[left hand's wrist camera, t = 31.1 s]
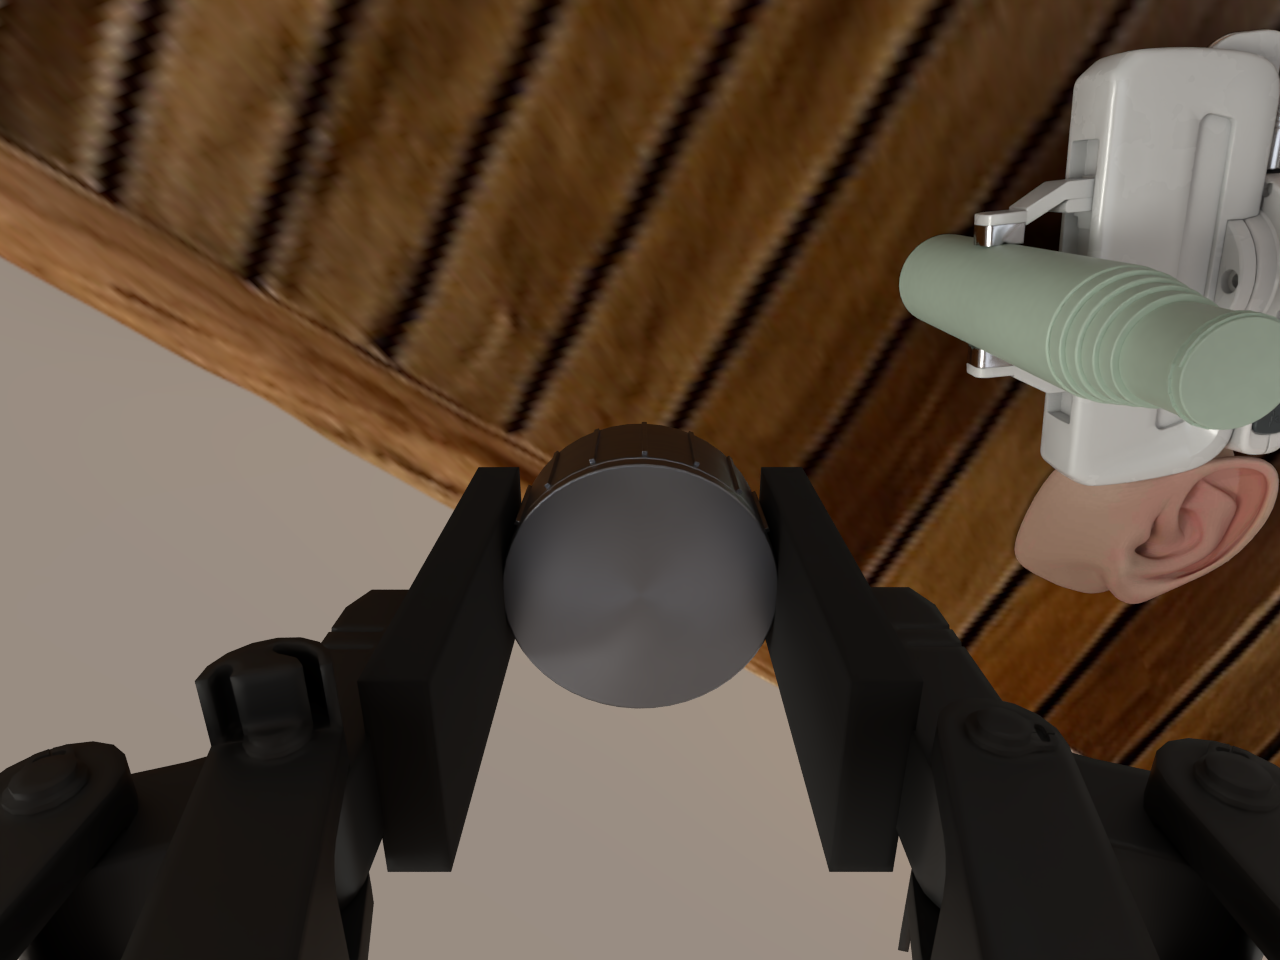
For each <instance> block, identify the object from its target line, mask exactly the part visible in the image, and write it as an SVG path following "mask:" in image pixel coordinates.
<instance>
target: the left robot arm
mask: <svg viewBox="0 0 1280 960" xmlns="http://www.w3.org/2000/svg"><path fill="white" fill-rule="evenodd" d="M759 503H760V505H761V508H762V511H763V513H764V516H765V519H766V521H767V524H768V527H769V529H770V532H767V534H768V537H769V539H770V542H771V545H772V548H773V551H774V554H775V558H776V562H777V566H778V581H777V595H776V608H775V617H774V620H773V623H772V626H771V629H770V631H769V633H768V635H767V637H766V643H767V646H768V650H769V653H770V657H771V661H772V664H773V668H774V672H775V675H776V679H777V683H778V686H779V690H780V694H781V697H782V701H783V704H784V708H785V712H786V715H787V719H788V723H789V726H790V730H791V733H792V737H793V741H794V745H795V748H796V752H797V755H798V759H799V763H800V766H801V770H802V774H803V777H804V781H805V785H806V788H807V792H808V795H809V799H810V803H811V806H812V810H813V814H814V817H815V821H816V825H817V828H818V832H819V836H820V839H821V843H822V847H823V850H824V854H825V857H826V861H827V865H828V868H829V871H830V872H893V867H894V861H895V855H896V849H897V842H898V836H899V837H900V840H901V842H902V845H903V847H904V850H905V852H906V855H907V857H908V860H909V863H910V865H911V868H912V870H911V876H910V882H909V887H908V893H907V899H906V905H905V910H904V916H903V922H902V928H901V933H900V940H899V947H898V950H901V951H906V952H908V950H909V945H910V941H911V950H912V960H1262V958H1263V955H1264V956H1265V957H1266V958H1267V959H1268V960H1280V768H1279V767H1277V766H1276V765H1274V764H1272V763H1270V762H1268V761H1266V760H1264V759H1262V758H1260V757H1258V756H1256V755H1254V754H1252V753H1250V752H1248V751H1246V750H1243V749H1241V748H1238V747H1235V746H1229V745H1228V744H1224V743H1220V742H1216V741H1209V740H1200V739H1192V738H1186V739H1180V740H1174V741H1168V742H1167V743H1166V744H1165V745H1163V746H1162V747H1161V748H1160V749H1159V750H1157V752H1156V755H1155V758H1154V762H1153V765H1152V768H1151V771H1148V770H1144V769H1139V768H1134V767H1129V766H1125V765H1120V764H1115V763H1111V762H1106V761H1101V760H1097V759H1092V758H1089V757H1085V756H1082V755H1078V754H1075V753H1072V752H1071V749H1070V747H1069V745H1068V744H1067V742H1066V741H1065V739H1064V738H1063V737H1062V735H1061V734H1060V732H1059V731H1058V730H1057V729H1056V728H1055V727H1054V726H1052V725H1051V724H1050V723H1048V722H1047V721H1046V720H1044V719H1043V718H1042V717H1040V716H1039V715H1038V714H1035V713H1033V712H1031V711H1029V710H1027V709H1025V708H1022V707H1020V706H1018V705H1016V704H1013V703H1008V702H1004V701H1002V700H1001V699H1000V697H999V696H998V694H997V693H996V691H995V690H994V689H993V687H992V686H991V684H990V683H989V681H988V680H987V679H986V677H985V676H984V674H983V673H982V671H981V670H980V669H979V667H978V666H977V664H976V663H975V661H974V660H973V659H972V657H971V656H970V654H969V653H968V651H967V650H966V649H965V647H962V646H961V641H960V640H959V639H958V637H957V636H956V634H955V633H954V631H953V630H952V629H949V624H948V623H947V621H946V620H945V619H944V617H943V616H942V614H941V613H940V611H939V610H938V609H937V607H936V606H935V605H934V604H933V603H931V602H930V601H928V600H927V599H926V598H924V597H923V596H921V595H920V594H918V593H917V592H915V591H914V590H912V589H911V588H909V587H870V586H869V584H868V583H867V581H866V579H865V577H864V576H863V574H862V572H861V570H860V569H859V567H858V565H857V563H856V562H855V560H854V558H853V556H852V555H851V553H850V551H849V549H848V548H847V546H846V544H845V542H844V541H843V539H842V537H841V535H840V533H839V532H838V530H837V528H836V526H835V525H834V523H833V521H832V519H831V518H830V516H829V514H828V512H827V511H826V509H825V507H824V505H823V504H822V502H821V500H820V498H819V497H818V495H817V493H816V491H815V490H814V488H813V486H812V484H811V483H810V481H809V479H808V477H807V475H806V474H805V472H804V470H803V468H802V467H761V481H760V497H759ZM520 506H521V489H520V473H519V467H479V468H478V469H477V471H476V473H475V475H474V476H473V478H472V480H471V482H470V483H469V485H468V487H467V489H466V490H465V492H464V494H463V496H462V497H461V499H460V501H459V503H458V504H457V506H456V508H455V510H454V512H453V513H452V515H451V517H450V519H449V520H448V522H447V524H446V526H445V527H444V529H443V531H442V533H441V534H440V536H439V538H438V540H437V541H436V543H435V545H434V547H433V549H432V550H431V552H430V554H429V555H428V557H427V559H426V561H425V563H424V564H423V566H422V568H421V570H420V571H419V573H418V575H417V577H416V578H415V580H414V582H413V584H412V585H411V587H410V589H409V590H371V591H369V592H368V593H366V594H365V595H363V596H362V597H360V598H359V599H357V600H356V601H355V602H353V603H352V604H350V605H349V606H347V607H346V608H345V609H344V611H343V612H342V614H341V615H340V617H339V618H338V620H337V621H336V622H335V624H334V625H333V627H332V632H329V633H328V634H327V635H326V637H325V638H324V640H323V641H322V643H320V642H318V641H313V640H309V639H305V638H301V637H297V638H275V639H270V640H265V641H260V642H255V643H251V644H249V645H246V646H244V647H241V648H239V649H236V650H234V651H231V652H229V653H227V654H225V655H224V656H222V657H221V658H219V659H218V660H216V661H215V662H213V663H212V664H210V665H209V666H207V667H206V668H205V670H204V671H203V672H202V673H201V674H200V676H199V677H198V678H197V679H196V680H195V684H196V688H197V692H198V695H199V699H200V703H201V707H202V711H203V715H204V719H205V723H206V727H207V731H208V735H209V739H210V743H211V748H210V751H209V753H208V755H207V757H204V758H200V759H196V760H193V761H189V762H185V763H180V764H176V765H171V766H166V767H162V768H157V769H152V770H148V771H143V772H138V773H134V774H131V773H130V769H129V766H128V763H127V760H126V756H125V754H124V753H123V752H122V751H120V750H119V749H118V748H117V747H116V746H114V745H112V744H105V743H100V742H94V741H92V742H84V743H75V744H66V745H63V746H59V747H55V748H53V749H50V750H49V749H48V750H45V751H42V752H39V753H37V754H34V755H32V756H31V757H29V758H27V759H25V760H23V761H21V762H18V763H16V764H14V765H12V766H10V767H8V768H6V769H5V770H4V771H2V772H1V773H0V960H17V959H18V958H19V960H368V952H369V942H370V933H371V924H372V914H373V904H374V901H373V895H372V888H371V882H370V876H369V870H370V868H371V865H372V863H373V860H374V857H375V855H376V852H377V850H378V847H379V845H380V842H381V840H382V839H383V845H384V851H385V858H386V864H387V870H388V872H451V870H452V867H453V863H454V859H455V856H456V852H457V848H458V845H459V841H460V837H461V834H462V830H463V826H464V823H465V819H466V816H467V812H468V808H469V804H470V801H471V797H472V794H473V790H474V786H475V782H476V779H477V775H478V772H479V768H480V765H481V761H482V757H483V754H484V750H485V746H486V742H487V739H488V735H489V732H490V728H491V724H492V721H493V717H494V713H495V710H496V706H497V703H498V699H499V695H500V692H501V688H502V684H503V681H504V677H505V673H506V670H507V666H508V662H509V659H510V655H511V651H512V648H513V644H514V640H515V637H514V636H513V633H512V631H511V629H510V626H509V624H508V622H507V618H506V614H505V602H504V589H503V566H504V561H505V557H506V554H507V551H508V548H509V545H510V542H511V539H512V537H513V534H514V531H515V528H516V525H514V522H515V520H516V517H517V514H518V511H519V509H520Z"/></svg>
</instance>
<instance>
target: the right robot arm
mask: <svg viewBox="0 0 1280 960" xmlns="http://www.w3.org/2000/svg"><path fill="white" fill-rule="evenodd" d="M1046 212H1062V222H1061V232H1060V244H1059V252H1064V253H1070V254H1076V255H1082V256H1088V257H1094V258H1100V259H1106V260H1112V261H1118V262H1124V263H1130V264H1137V265H1142V266H1146V267H1150V268H1152V269H1155V270H1157V271H1161V272H1163V273H1166V274H1169V275H1170V276H1172V277H1174V278H1176V279H1177V280H1178V281H1180V282H1182V283H1183V284H1185V285H1187V286H1188V287H1189V288H1191V289H1193V290H1195V291H1197V292H1199V293H1200V294H1201V295H1203V296H1204V297H1206V298H1208V299H1210V300H1212V301H1213V302H1214V303H1215V304H1217V305H1218V306H1219V307H1221V308H1225V309H1230V310H1251V311H1255V312H1261V313H1264V314H1267V315H1271V316H1274V317H1276V318H1277V319H1279V320H1280V32H1279V31H1275V30H1272V29H1265V28H1264V29H1255V30H1247V31H1238V32H1232V33H1228V34H1225V35H1223V36H1221V37H1219V38H1217V39H1216V40H1214V41H1213V42H1212V43H1210V44H1209V45H1208V46H1207V47H1206V48H1201V47H1168V48H1150V49H1141V50H1134V51H1128V52H1123V53H1119V54H1114V55H1111V56H1108V57H1105V58H1102V59H1100V60H1098V61H1096V62H1095V63H1094V64H1093V65H1092V66H1091V67H1089V68H1088V69H1087V70H1086V71H1085V72H1084V73H1083V74H1082V75H1081V76H1080V77H1079V78H1078V79H1077V81H1076V82H1075V85H1074V91H1073V101H1072V112H1071V123H1070V134H1069V145H1068V156H1067V167H1066V178H1065V179H1064V180H1055V181H1047V182H1044V183H1042V184H1041V185H1040V186H1038V187H1037V188H1035V189H1034V190H1032V191H1031V192H1030V193H1028V194H1027V195H1025V196H1024V197H1023V198H1021V199H1020V200H1018V201H1017V202H1016V203H1014V204H1013V205H1011V206H1010V207H1009V210H1000V211H991V212H982V213H977V214H975V223H974V244H973V245H976V246H977V245H980V246H981V247H993V246H999V245H1001V244H1003V243H1004V244H1021V243H1023V242H1024V233H1025V225H1028V224H1029V223H1031V222H1032V221H1034V220H1035V219H1037V218H1038V217H1040V216H1041V215H1043V214H1045V213H1046ZM967 373H969V374H971V375H973V376H974V377H979V378H991V377H1001V376H1012V377H1014V378H1016V379H1018V380H1020V381H1022V382H1025V383H1027V384H1029V385H1031V386H1033V387H1035V388H1037V389H1039V390H1042V391H1044V392H1046V396H1045V407H1044V418H1043V429H1042V440H1041V456H1042V457H1043V459H1044V460H1045V461H1046V462H1048V463H1049V464H1050V465H1051V466H1052V467H1053V468H1055V469H1056V470H1057V471H1058V472H1060V473H1061V474H1062V475H1064V476H1066V477H1067V478H1069V479H1071V480H1072V481H1074V482H1077V483H1079V484H1082V485H1087V486H1103V485H1113V484H1121V483H1129V482H1136V481H1142V480H1148V479H1153V478H1158V477H1163V476H1168V475H1173V474H1177V473H1182V472H1185V471H1189V470H1192V469H1195V468H1197V467H1200V466H1202V465H1204V464H1206V463H1207V462H1209V461H1211V460H1212V459H1213V458H1215V457H1216V456H1217V455H1218V454H1219V453H1220V452H1221V451H1222V450H1223V449H1224V448H1227V449H1230V450H1234V451H1238V452H1241V453H1245V454H1250V455H1258V454H1267V453H1271V452H1274V451H1276V450H1278V449H1279V448H1280V403H1279V404H1278V405H1277V406H1276V407H1275V408H1274V409H1273V410H1272V411H1271V412H1269V413H1268V414H1267V415H1265V416H1264V417H1262V418H1261V419H1259V420H1257V421H1255V422H1253V423H1251V424H1249V425H1246V426H1243V427H1240V428H1235V429H1228V430H1207V429H1203V428H1200V427H1196V426H1193V425H1190V424H1189V423H1187V422H1186V421H1184V420H1183V419H1181V418H1180V417H1178V415H1176V414H1173V413H1171V412H1169V411H1167V410H1164V409H1162V408H1159V409H1151V408H1144V407H1131V406H1126V405H1115V404H1103V403H1098V402H1094V401H1091V400H1088V399H1083V398H1080V397H1077V396H1075V395H1073V394H1071V393H1069V392H1067V391H1065V390H1063V389H1060V388H1058V387H1056V386H1054V385H1052V384H1050V383H1048V382H1046V381H1044V380H1042V379H1040V378H1038V377H1036V376H1034V375H1032V374H1030V373H1028V372H1026V371H1024V370H1022V369H1020V368H1018V367H1016V366H1014V365H1012V364H1010V363H1008V362H1006V361H1004V360H1001V359H999V358H997V357H995V356H993V355H991V354H989V353H987V352H985V351H983V350H981V349H979V348H977V347H975V346H973V345H971V344H969V348H968V361H967Z"/></svg>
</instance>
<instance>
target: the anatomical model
mask: <svg viewBox="0 0 1280 960" xmlns="http://www.w3.org/2000/svg"><path fill="white" fill-rule="evenodd" d="M1278 486H1279V479H1278V474H1277V471H1276V469H1275V468H1274V467H1273V466H1272V465H1271V464H1270V463H1269V462H1267V461H1265V460H1263V459H1260V458H1256V457H1249V456H1234V453H1233V450H1230V449H1227V448H1224V449H1223V450H1222V451H1221V452H1220V453H1219V454H1218V455H1217V456H1216V457H1215V458H1213V459H1212V460H1211V461H1209V462H1207V463H1206V464H1204V465H1202V466H1200V467H1197V468H1195V469H1192V470H1189V471H1185V472H1182V473H1177V474H1173V475H1168V476H1163V477H1158V478H1153V479H1148V480H1142V481H1136V482H1129V483H1121V484H1113V485H1103V486H1087V485H1082V484H1079V483H1077V482H1074V481H1072V480H1071V479H1069V478H1067V477H1066V476H1064V475H1062V474H1061V473H1060V472H1058V471H1057V470H1056V469H1055V470H1054V471H1053V472H1052V473H1051V475H1050V476H1049V477H1048V478H1047V480H1046V481H1045V482H1044V483H1043V485H1042V486H1041V488H1040V490H1039V491H1038V493H1037V494H1036V496H1035V498H1034V499H1033V501H1032V503H1031V505H1030V507H1029V509H1028V511H1027V513H1026V515H1025V517H1024V519H1023V522H1022V524H1021V526H1020V529H1019V532H1018V535H1017V538H1016V542H1015V555H1016V558H1017V560H1018V561H1019V563H1020V564H1021V565H1022V566H1024V567H1025V568H1026V569H1028V570H1029V571H1031V572H1032V573H1034V574H1036V575H1038V576H1040V577H1042V578H1044V579H1046V580H1048V581H1050V582H1052V583H1055V584H1057V585H1059V586H1062V587H1065V588H1069V589H1072V590H1076V591H1080V592H1084V593H1099V592H1104V591H1107V590H1110V591H1111V592H1112V594H1113V595H1114V596H1115V597H1117V598H1118V599H1119V600H1121V601H1123V602H1126V603H1129V604H1137V603H1141V602H1144V601H1147V600H1150V599H1152V598H1154V597H1156V596H1158V595H1161V594H1163V593H1165V592H1167V591H1170V590H1172V589H1174V588H1176V587H1179V586H1181V585H1183V584H1185V583H1188V582H1190V581H1192V580H1194V579H1196V578H1198V577H1201V576H1203V575H1205V574H1207V573H1208V572H1210V571H1212V570H1214V569H1216V568H1217V567H1219V566H1221V565H1222V564H1224V563H1225V562H1227V561H1228V560H1230V559H1231V558H1232V557H1233V556H1235V555H1236V554H1237V553H1238V552H1240V551H1241V550H1242V549H1243V548H1244V547H1245V546H1246V545H1247V544H1248V543H1249V542H1250V541H1251V540H1252V538H1253V537H1254V536H1255V535H1256V534H1257V532H1258V531H1259V530H1260V529H1261V527H1262V526H1263V525H1264V523H1265V522H1266V520H1267V519H1268V517H1269V515H1270V513H1271V511H1272V509H1273V507H1274V504H1275V501H1276V497H1277V493H1278Z"/></svg>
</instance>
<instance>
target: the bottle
mask: <svg viewBox="0 0 1280 960" xmlns="http://www.w3.org/2000/svg"><path fill="white" fill-rule="evenodd" d="M973 244H974V237H968V236H962V235H956V234H943V235H938V236H935V237H932V238H930V239H928V240H926V241H925V242H923V243H921V244H920V245H919V246H918V247H917V248H916V249H915V250H914V251H913V252H912V253H911V254H910V255H909V257H908V258H907V260H906V262H905V264H904V266H903V268H902V271H901V275H900V282H899V288H900V295H901V298H902V301H903V303H904V305H905V307H906V308H907V309H908V311H909V312H910V313H911V314H912V315H914V316H915V317H916V318H918V319H920V320H922V321H924V322H926V323H928V324H930V325H932V326H934V327H936V328H938V329H940V330H942V331H945V332H947V333H949V334H951V335H953V336H955V337H957V338H959V339H961V340H963V341H965V342H967V343H969V344H971V345H973V346H975V347H977V348H979V349H981V350H983V351H985V352H987V353H989V354H991V355H993V356H995V357H997V358H999V359H1001V360H1004V361H1006V362H1008V363H1010V364H1012V365H1014V366H1016V367H1018V368H1020V369H1022V370H1024V371H1026V372H1028V373H1030V374H1032V375H1034V376H1036V377H1038V378H1040V379H1042V380H1044V381H1046V382H1048V383H1050V384H1052V385H1054V386H1056V387H1058V388H1060V389H1063V390H1065V391H1067V392H1069V393H1071V394H1073V395H1075V396H1077V397H1080V398H1083V399H1088V400H1091V401H1094V402H1098V403H1103V404H1115V405H1126V406H1131V407H1144V408H1151V409H1159V408H1162V409H1164V410H1167V411H1169V412H1171V413H1173V414H1176V415H1178V417H1180V418H1181V419H1183V420H1184V421H1186V422H1187V423H1189V424H1190V425H1193V426H1196V427H1200V428H1203V429H1207V430H1228V429H1235V428H1240V427H1243V426H1246V425H1249V424H1251V423H1253V422H1255V421H1257V420H1259V419H1261V418H1262V417H1264V416H1265V415H1267V414H1268V413H1269V412H1271V411H1272V410H1273V409H1274V408H1275V407H1276V406H1277V405H1278V404H1279V403H1280V320H1279V319H1277V318H1276V317H1274V316H1271V315H1267V314H1264V313H1261V312H1255V311H1251V310H1230V309H1225V308H1221V307H1219V306H1218V305H1217V304H1215V303H1214V302H1213V301H1212V300H1210V299H1208V298H1206V297H1204V296H1203V295H1201V294H1200V293H1199V292H1197V291H1195V290H1193V289H1191V288H1189V287H1188V286H1187V285H1185V284H1183V283H1182V282H1180V281H1178V280H1177V279H1176V278H1174V277H1172V276H1170V275H1169V274H1166V273H1163V272H1161V271H1157V270H1155V269H1152V268H1150V267H1146V266H1142V265H1137V264H1130V263H1124V262H1118V261H1112V260H1106V259H1100V258H1094V257H1088V256H1082V255H1076V254H1070V253H1064V252H1058V251H1052V250H1046V249H1040V248H1034V247H1028V246H1022V245H1016V244H1004V243H1003V244H1001V245H999V246H993V247H981V246H980V245H977V246H976V245H973Z"/></svg>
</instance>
